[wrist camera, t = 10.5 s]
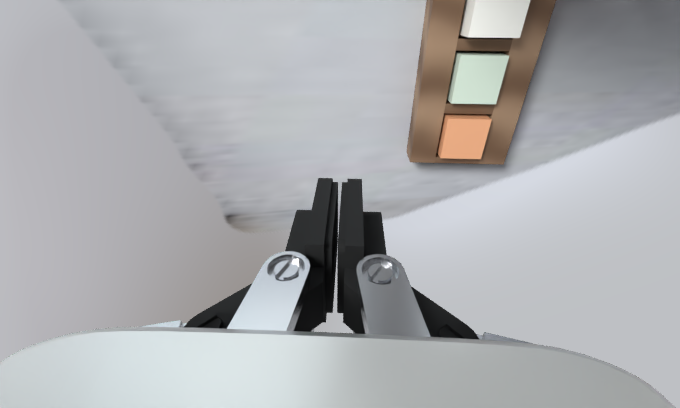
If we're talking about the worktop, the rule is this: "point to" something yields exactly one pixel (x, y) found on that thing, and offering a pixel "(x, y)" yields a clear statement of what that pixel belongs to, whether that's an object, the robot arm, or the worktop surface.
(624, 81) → the worktop surface
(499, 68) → the sage key
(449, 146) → the terracotta key
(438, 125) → the key panel
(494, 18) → the ivory key
